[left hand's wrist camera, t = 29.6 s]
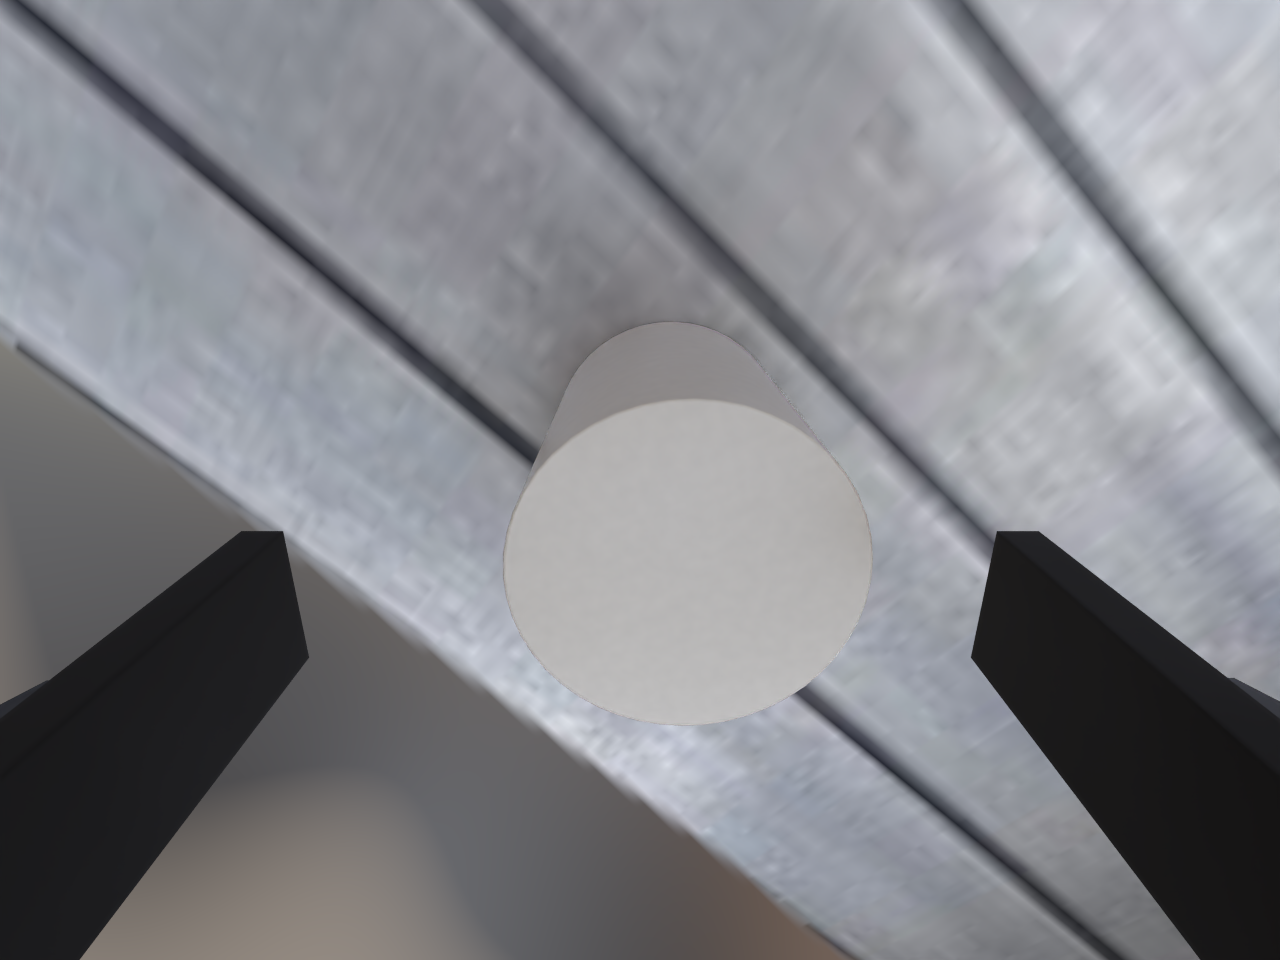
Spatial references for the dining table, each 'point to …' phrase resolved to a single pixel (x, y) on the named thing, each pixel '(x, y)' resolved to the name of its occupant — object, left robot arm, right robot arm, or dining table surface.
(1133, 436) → the dining table surface
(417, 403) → the dining table surface
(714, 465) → the canister
